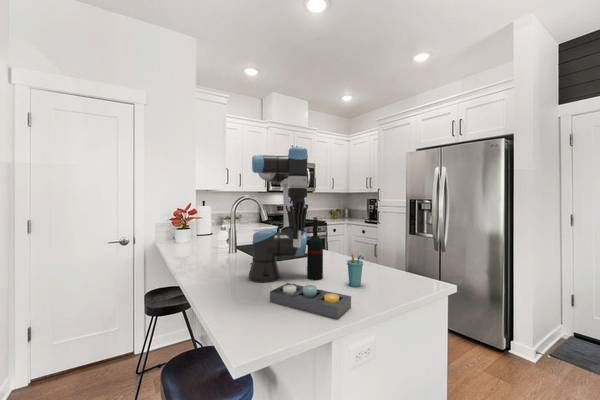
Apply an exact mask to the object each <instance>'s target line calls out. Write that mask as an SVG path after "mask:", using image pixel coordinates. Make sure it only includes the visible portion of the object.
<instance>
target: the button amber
mask: <svg viewBox="0 0 600 400" xmlns="http://www.w3.org/2000/svg"><path fill="white" fill-rule="evenodd" d="M324 301H327V302H332V303H338V302H339V295H337V294H332V293H330V294H325V295H324Z"/></svg>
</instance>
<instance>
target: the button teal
mask: <svg viewBox="0 0 600 400" xmlns="http://www.w3.org/2000/svg"><path fill="white" fill-rule="evenodd" d="M302 286H303V296H306V297H310V298H314V297H316V296H317V289H318V288H317V287H318V286H316V285H313V284H306V285H305V284H304V285H302Z"/></svg>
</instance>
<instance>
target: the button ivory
mask: <svg viewBox="0 0 600 400" xmlns="http://www.w3.org/2000/svg"><path fill="white" fill-rule="evenodd" d="M284 285H285V284H284ZM283 291H284V292H288V293H294V292H295V291H296V286H294V285H285V286H283Z"/></svg>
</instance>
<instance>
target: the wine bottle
mask: <svg viewBox="0 0 600 400" xmlns="http://www.w3.org/2000/svg"><path fill="white" fill-rule="evenodd" d="M312 217H313V220H312V236H311V237H309V238H308V239H307V244H306V249H307V252H306V253H307V254H306V257H307V258H306V261H307V262H306V264H307V265H306V278H307V280H310V281H322V280H323V279H324V277H323V276H324V241H323V240H322V238H321V237H320V236H318V225H319V224H318V223H319V221H318V216H312Z"/></svg>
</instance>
